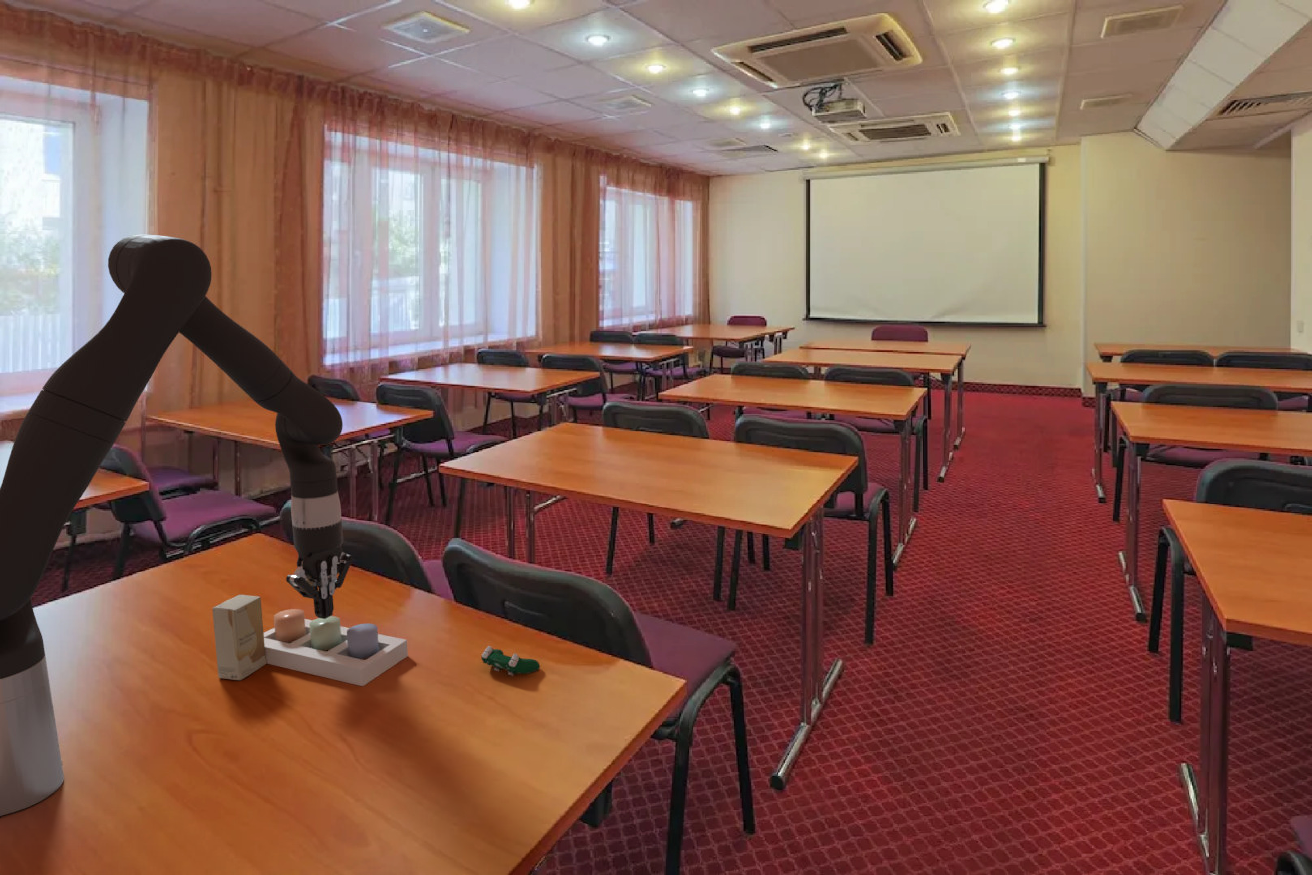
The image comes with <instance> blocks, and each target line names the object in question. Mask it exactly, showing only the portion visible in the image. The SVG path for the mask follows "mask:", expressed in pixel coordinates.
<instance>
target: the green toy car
mask: <svg viewBox="0 0 1312 875" xmlns="http://www.w3.org/2000/svg"><path fill="white" fill-rule="evenodd" d="M481 660H482V663H483V664H486V665H487V666H493V671H495V672H500V671H502V670H503V669H504V670H506V671H507V675H509V676H512V677H514V675H516V674H531V673H534V672H536V671H538V670H539V669H540V668H541V665H540V663H539V661H538V660H536V659H533V658H521V657H520V656H519V655H518V653H513V655H512V656H508V655H505V654H504V652H503V650H501V649H498V648H495V649H494V648H492V646H491V645H488V646H487V647H486V648H485V649H484V651H483V653H482V654H481Z"/></svg>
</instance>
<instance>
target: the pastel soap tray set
mask: <svg viewBox="0 0 1312 875" xmlns="http://www.w3.org/2000/svg"><path fill="white" fill-rule="evenodd" d="M313 620H314V619H313ZM313 620H312V619H307V618H305V629H306V635H305V636H303V637H301V638H300V639H298V640H296V641H292V642H281V641H277V640H276V638H275V627H273V628H271V629H269V630H267V631H263V633H264V645H265V656H266V664H268V665H272V666H276V667H280V668H285V669H289V670H293V671H296V672H301V673H304V674H305V673H306V674H309V675H313V676H314V675H315V676H317V677H322V678H327V679H331V680H335V681H339V682H343V683H347V684H352V685H356V686H360V687H364V686H366V685H367V684H369V683H370V682H371V681H373V680H375V679H376V678H377V677H379V676H380V675H381V674H383V673H385V672H386V671H387V670H389V669H391V668H392V667H394V666H395V665H396V664H397V665H398V663H400V662H401V661H402V660H404V659H405V658H407V657H408V656H409V652H408V651H409V650H408V640H407V639H406V638H405V639H404V638H400V637H396V636H395V637H394V636H389V635H385V634H380V633H378V644H379V651H378V653H376V654H374V655H373V656H371V657H368V658H365V659H363V658H362V659H357V658H353V657H350V656H349V655H348V642H347V630H348V629H349V628H350V627H345V626H341V625H340V627H341V640H342V642H341V644H339V645H338V646H336V647H334V648H332V649H328V651H327V650H317V649H312V647H311V638H310V626H309V624H310V622H311V621H313Z"/></svg>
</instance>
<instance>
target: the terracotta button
mask: <svg viewBox="0 0 1312 875" xmlns="http://www.w3.org/2000/svg"><path fill="white" fill-rule="evenodd" d="M305 617H306V616H305V611H304V610H303V609H300V608H299V609H298V608H290V609H285V610H281V611H279V612H277V613H275V614H274V615H273V625H274V627H273V628H275V638H276V640H277V641H281V642H286V643H292V642H294V641H296V640H298V639H300V638H301V637H303V636H305V635H306V629H305V619H306V618H305Z"/></svg>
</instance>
